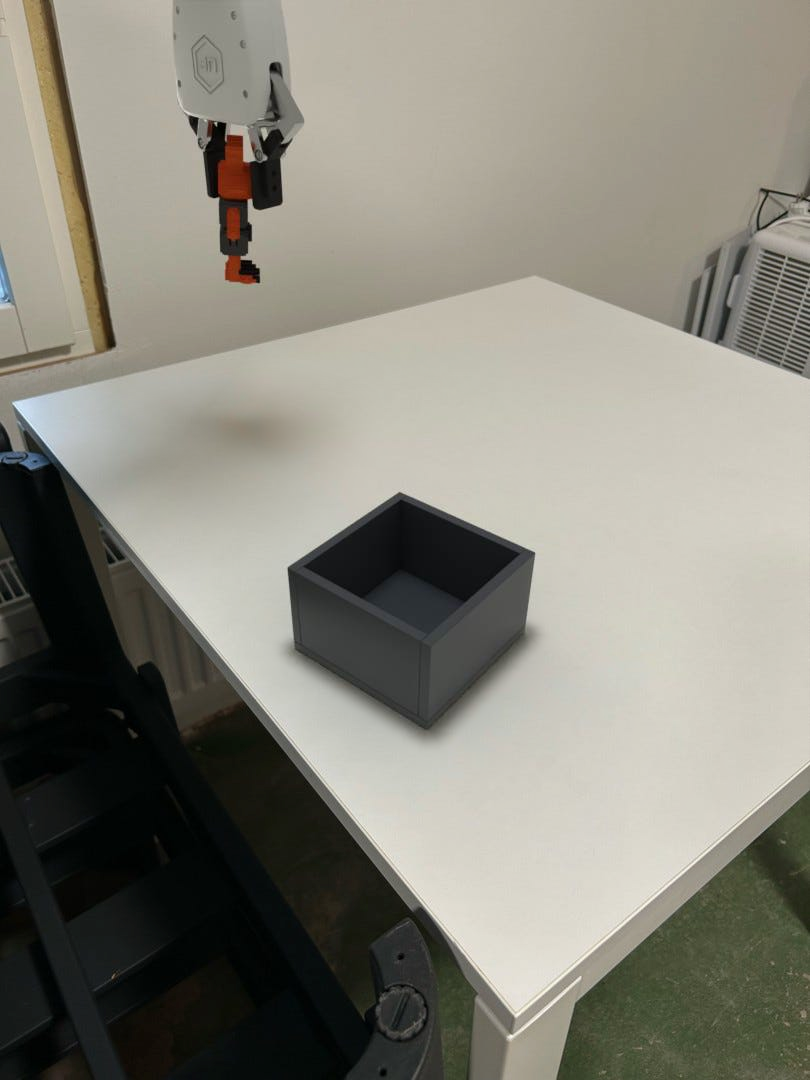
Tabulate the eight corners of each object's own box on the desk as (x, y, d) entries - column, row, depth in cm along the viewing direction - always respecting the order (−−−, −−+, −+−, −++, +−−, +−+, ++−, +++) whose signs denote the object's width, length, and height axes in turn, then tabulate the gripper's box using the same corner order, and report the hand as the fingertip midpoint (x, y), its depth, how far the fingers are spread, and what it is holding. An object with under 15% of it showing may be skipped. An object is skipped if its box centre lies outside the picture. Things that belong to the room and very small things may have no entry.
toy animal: (280, 293, 77) (281, 154, 70) (220, 290, 76) (215, 149, 69) (277, 264, 83) (279, 135, 76) (222, 261, 82) (218, 130, 75)
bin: (294, 648, 62) (286, 567, 58) (398, 568, 70) (399, 491, 66) (427, 730, 56) (430, 646, 51) (525, 632, 64) (535, 552, 59)
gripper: (119, -43, 67) (153, 192, 78) (266, -36, 59) (281, 227, 69) (191, -42, 72) (214, 179, 83) (337, -35, 64) (341, 210, 74)
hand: (245, 199), depth 76 cm, fingers closed on toy animal, 5 cm apart
